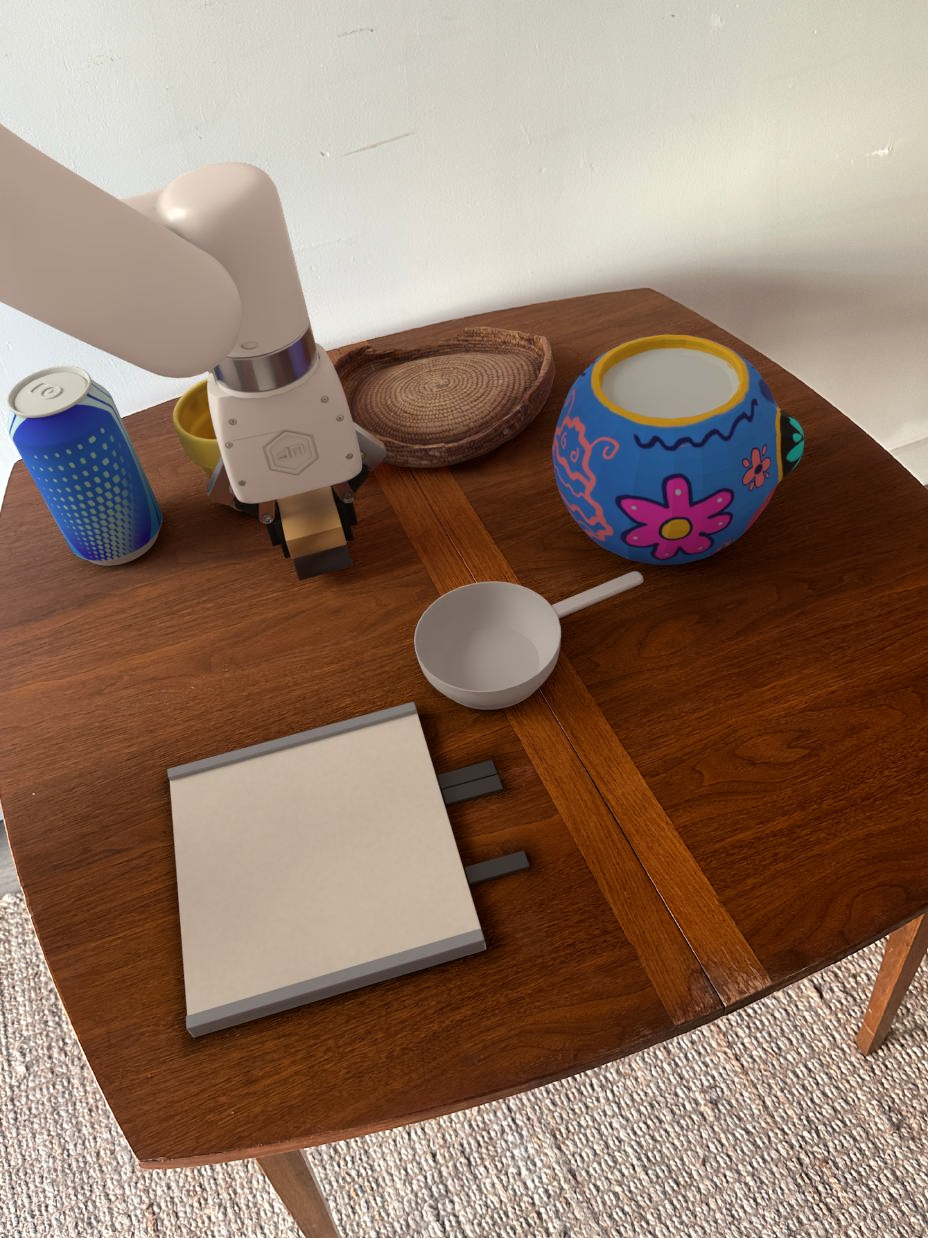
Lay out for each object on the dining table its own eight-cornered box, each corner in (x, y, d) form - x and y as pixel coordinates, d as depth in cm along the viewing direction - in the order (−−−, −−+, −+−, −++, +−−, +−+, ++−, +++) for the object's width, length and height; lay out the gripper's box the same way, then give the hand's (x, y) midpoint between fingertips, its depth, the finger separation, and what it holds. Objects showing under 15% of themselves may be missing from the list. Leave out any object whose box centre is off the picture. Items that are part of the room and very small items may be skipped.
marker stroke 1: (441, 792, 70) (441, 788, 70) (437, 778, 71) (437, 774, 71) (497, 776, 70) (497, 773, 70) (492, 762, 71) (492, 759, 71)
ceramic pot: (815, 560, 81) (848, 403, 70) (611, 632, 78) (612, 480, 67) (705, 439, 92) (719, 288, 81) (524, 497, 89) (512, 349, 78)
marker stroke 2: (446, 807, 69) (445, 803, 69) (442, 792, 70) (441, 789, 70) (503, 791, 69) (502, 788, 69) (498, 777, 70) (498, 774, 70)
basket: (505, 328, 108) (502, 286, 104) (598, 427, 95) (597, 382, 91) (305, 396, 103) (294, 354, 100) (374, 509, 90) (364, 466, 87)
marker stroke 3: (469, 886, 65) (469, 883, 65) (465, 870, 66) (464, 867, 65) (530, 869, 65) (529, 866, 65) (524, 853, 66) (524, 850, 66)
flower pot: (284, 536, 89) (256, 447, 82) (184, 517, 92) (148, 430, 85) (334, 463, 96) (311, 374, 88) (238, 447, 99) (209, 361, 92)
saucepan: (401, 641, 79) (393, 607, 77) (608, 565, 83) (608, 530, 80) (450, 742, 72) (444, 709, 70) (675, 655, 76) (677, 621, 73)
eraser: (299, 581, 83) (285, 540, 80) (286, 519, 88) (272, 479, 85) (353, 566, 83) (341, 526, 80) (336, 506, 89) (325, 465, 85)
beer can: (161, 497, 95) (98, 348, 83) (172, 554, 89) (106, 403, 77) (71, 523, 94) (-6, 375, 82) (77, 583, 88) (-5, 433, 76)
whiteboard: (193, 1038, 60) (186, 1029, 59) (173, 779, 73) (167, 768, 72) (486, 949, 62) (484, 939, 61) (416, 712, 75) (414, 701, 74)
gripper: (146, 408, 69) (222, 595, 82) (389, 350, 70) (424, 542, 84) (141, 351, 74) (213, 535, 87) (368, 298, 75) (405, 487, 89)
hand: (316, 537), depth 85 cm, fingers closed on eraser, 4 cm apart
